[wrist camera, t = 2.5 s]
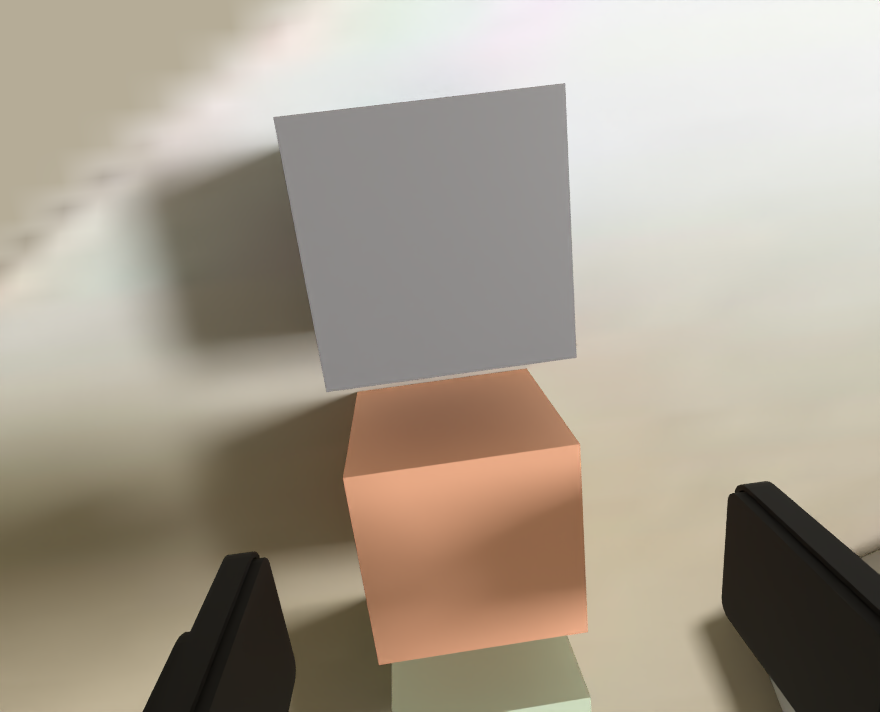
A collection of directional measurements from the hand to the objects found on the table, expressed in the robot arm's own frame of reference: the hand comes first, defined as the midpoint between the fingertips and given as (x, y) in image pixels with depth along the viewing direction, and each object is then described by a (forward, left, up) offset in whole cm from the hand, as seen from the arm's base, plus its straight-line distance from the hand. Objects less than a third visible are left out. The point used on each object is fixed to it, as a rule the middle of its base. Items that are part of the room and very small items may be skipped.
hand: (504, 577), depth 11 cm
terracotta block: (-1, 0, -6) cm, 6 cm away
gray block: (+4, +5, -6) cm, 9 cm away
